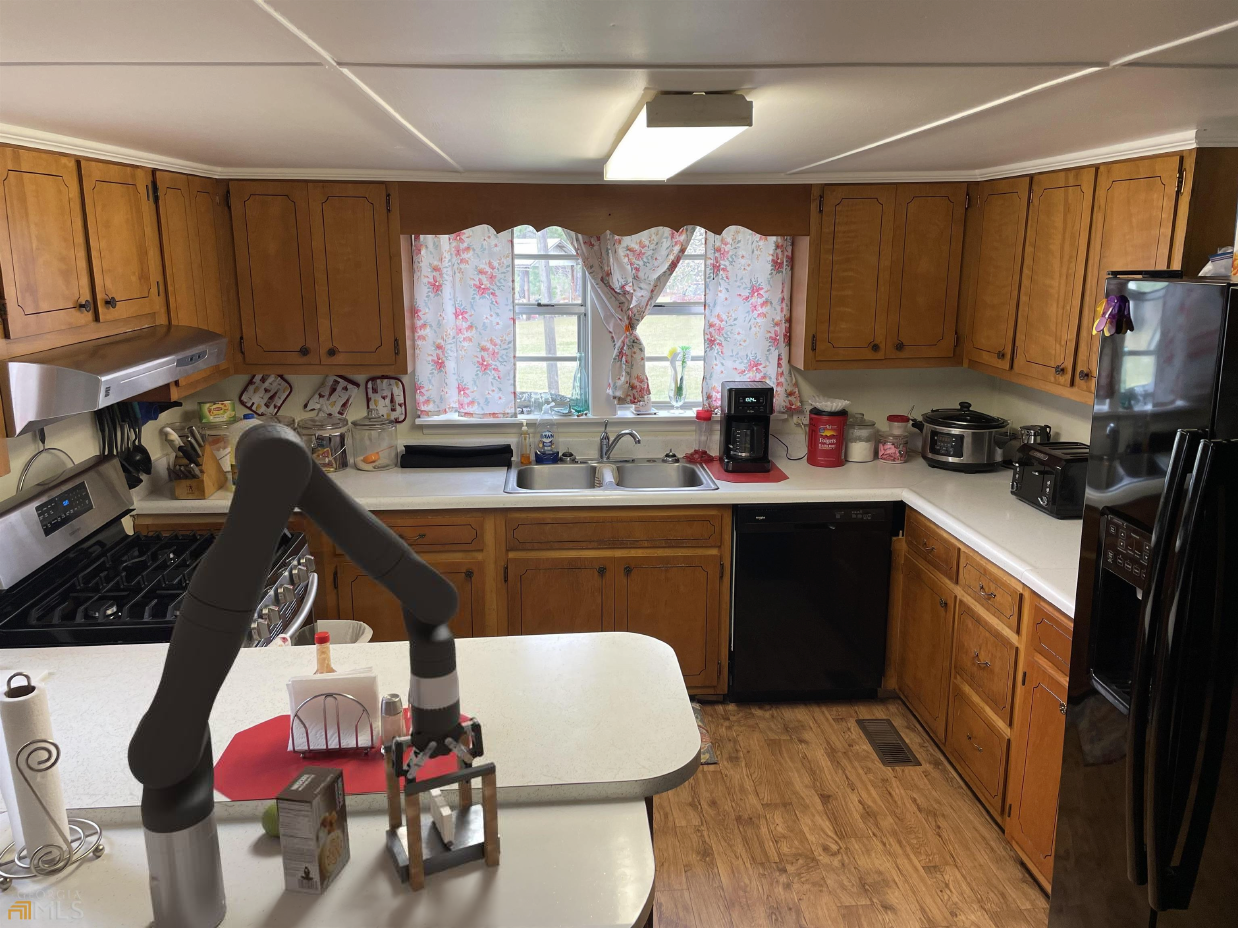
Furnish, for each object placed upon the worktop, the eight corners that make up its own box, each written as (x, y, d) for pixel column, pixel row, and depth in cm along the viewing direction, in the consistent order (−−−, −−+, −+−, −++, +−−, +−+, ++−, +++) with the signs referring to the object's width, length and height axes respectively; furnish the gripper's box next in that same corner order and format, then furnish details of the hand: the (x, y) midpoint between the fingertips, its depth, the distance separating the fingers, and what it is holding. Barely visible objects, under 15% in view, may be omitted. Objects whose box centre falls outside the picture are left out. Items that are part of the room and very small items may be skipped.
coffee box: (315, 852, 145) (307, 762, 142) (351, 857, 144) (344, 767, 141) (283, 890, 137) (274, 796, 133) (322, 896, 135) (313, 800, 132)
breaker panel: (401, 883, 138) (400, 865, 137) (386, 846, 147) (385, 829, 146) (500, 852, 145) (499, 835, 144) (480, 819, 154) (480, 803, 153)
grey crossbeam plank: (405, 796, 133) (405, 789, 133) (403, 792, 134) (403, 784, 134) (495, 772, 139) (495, 765, 139) (493, 768, 140) (493, 761, 140)
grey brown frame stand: (412, 891, 136) (407, 797, 133) (389, 835, 150) (383, 748, 146) (499, 864, 142) (495, 773, 139) (469, 812, 156) (465, 728, 152)
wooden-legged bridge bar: (385, 753, 145) (384, 746, 144) (383, 749, 146) (383, 742, 146) (469, 732, 151) (468, 726, 151) (467, 729, 152) (466, 723, 152)
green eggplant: (278, 790, 153) (327, 811, 150) (277, 816, 154) (324, 837, 151) (254, 808, 148) (304, 830, 145) (253, 835, 149) (302, 857, 146)
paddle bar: (445, 848, 141) (444, 816, 140) (430, 817, 149) (428, 787, 148) (454, 846, 142) (453, 814, 140) (438, 815, 149) (437, 785, 148)
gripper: (394, 716, 134) (401, 813, 137) (486, 695, 140) (490, 788, 143) (383, 695, 140) (389, 788, 144) (471, 676, 146) (475, 765, 150)
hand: (439, 788), depth 144 cm, fingers open, 8 cm apart
